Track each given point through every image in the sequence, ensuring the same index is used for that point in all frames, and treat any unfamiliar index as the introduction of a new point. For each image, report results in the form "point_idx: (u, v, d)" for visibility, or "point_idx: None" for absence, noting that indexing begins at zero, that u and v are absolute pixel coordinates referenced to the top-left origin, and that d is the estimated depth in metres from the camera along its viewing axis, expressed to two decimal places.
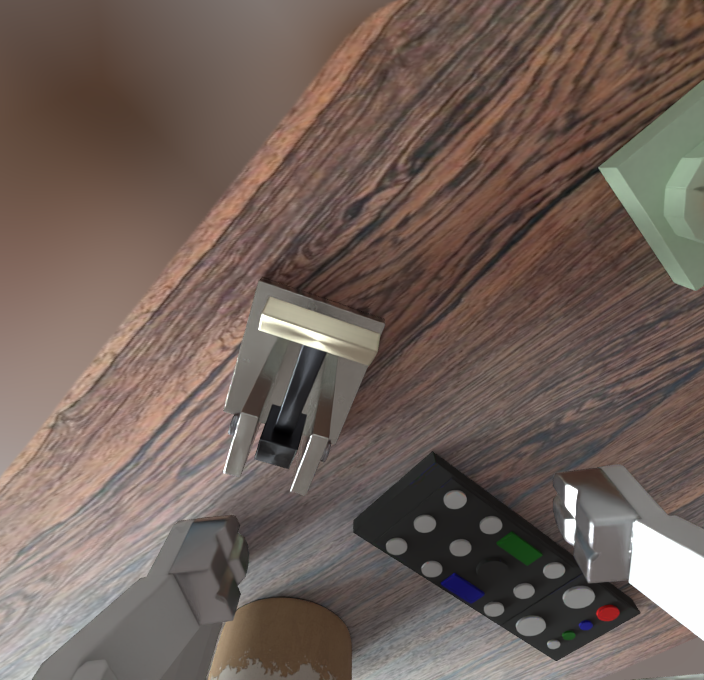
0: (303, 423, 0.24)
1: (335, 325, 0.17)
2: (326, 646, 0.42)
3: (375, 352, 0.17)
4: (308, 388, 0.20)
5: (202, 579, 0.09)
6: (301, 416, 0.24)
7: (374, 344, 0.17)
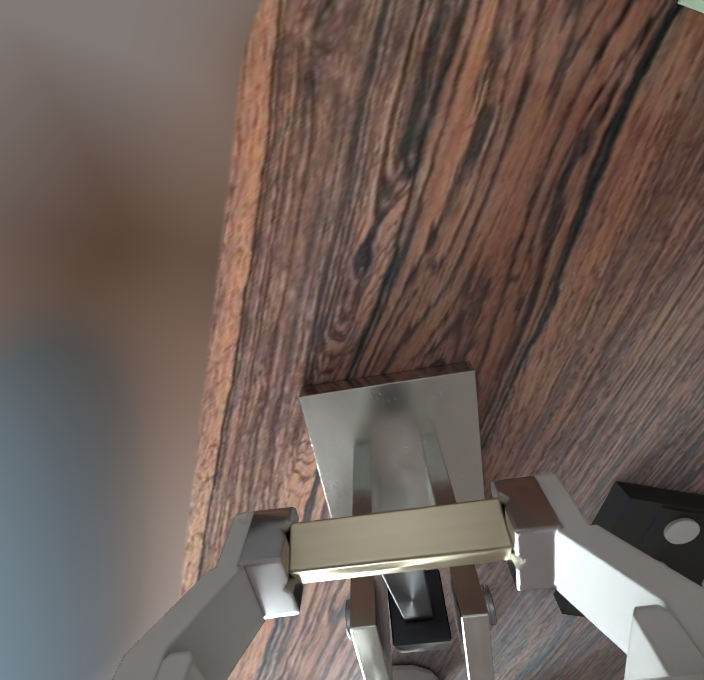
0: (439, 587, 0.16)
1: (415, 526, 0.09)
2: None
3: (510, 548, 0.09)
4: (423, 594, 0.12)
5: (272, 571, 0.09)
6: (432, 576, 0.16)
7: (500, 531, 0.09)
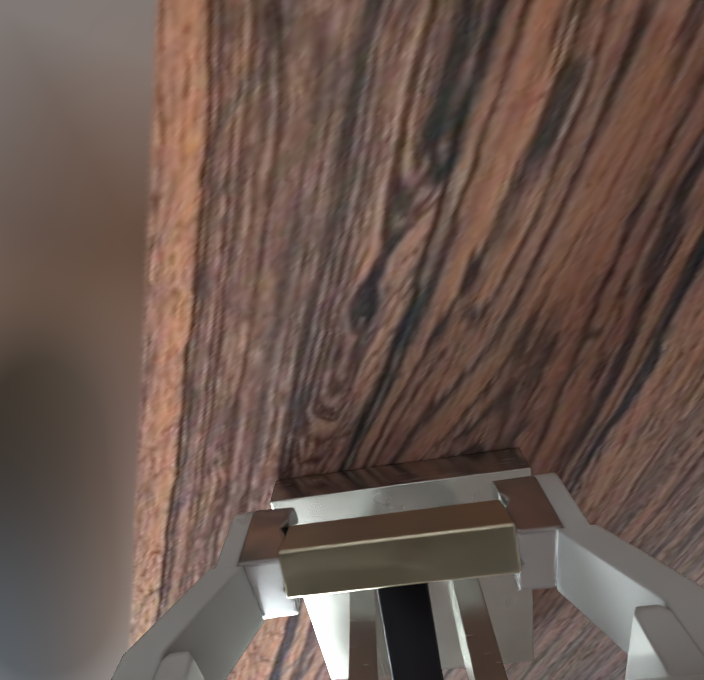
0: None
1: (414, 518, 0.09)
2: None
3: (511, 527, 0.08)
4: None
5: (271, 571, 0.09)
6: None
7: (500, 515, 0.09)
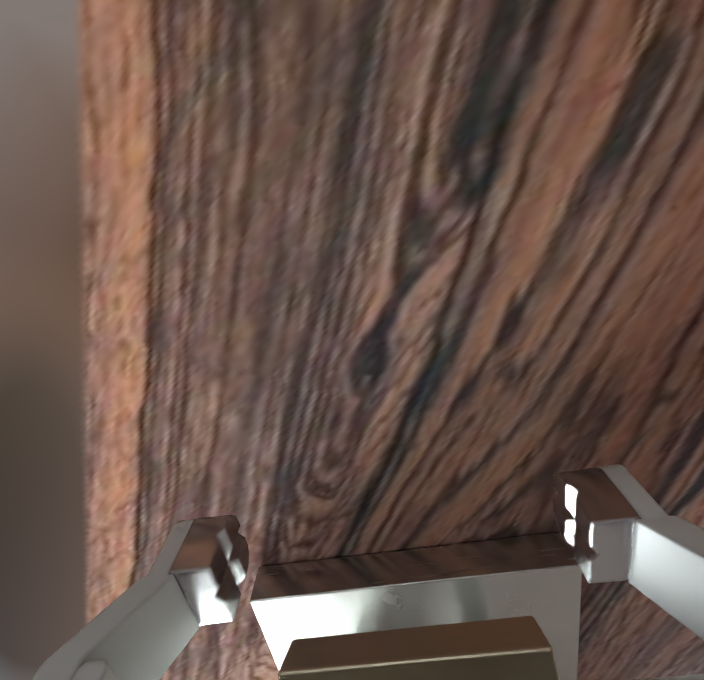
0: None
1: (434, 635, 0.08)
2: None
3: (549, 653, 0.07)
4: None
5: (202, 579, 0.09)
6: None
7: (535, 635, 0.07)
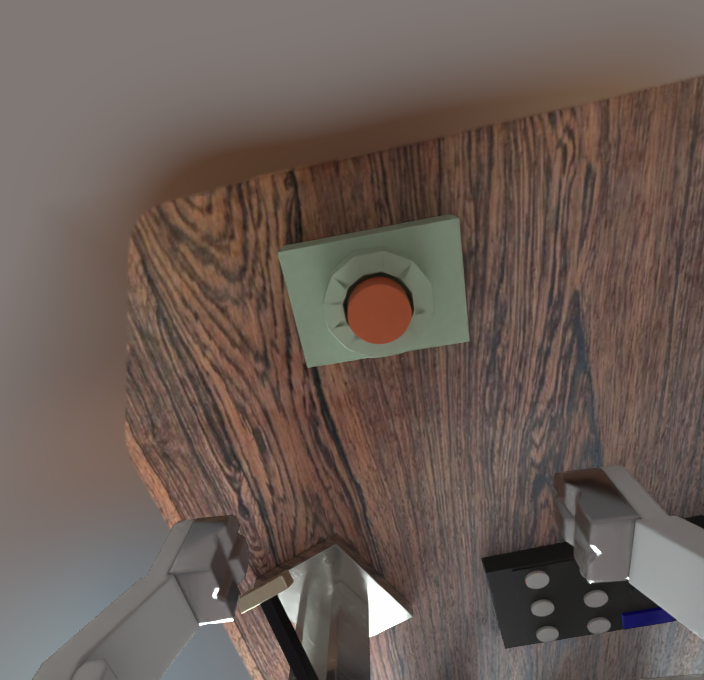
0: None
1: (266, 581, 0.33)
2: None
3: (281, 577, 0.32)
4: (286, 636, 0.31)
5: (202, 579, 0.09)
6: None
7: (281, 574, 0.32)
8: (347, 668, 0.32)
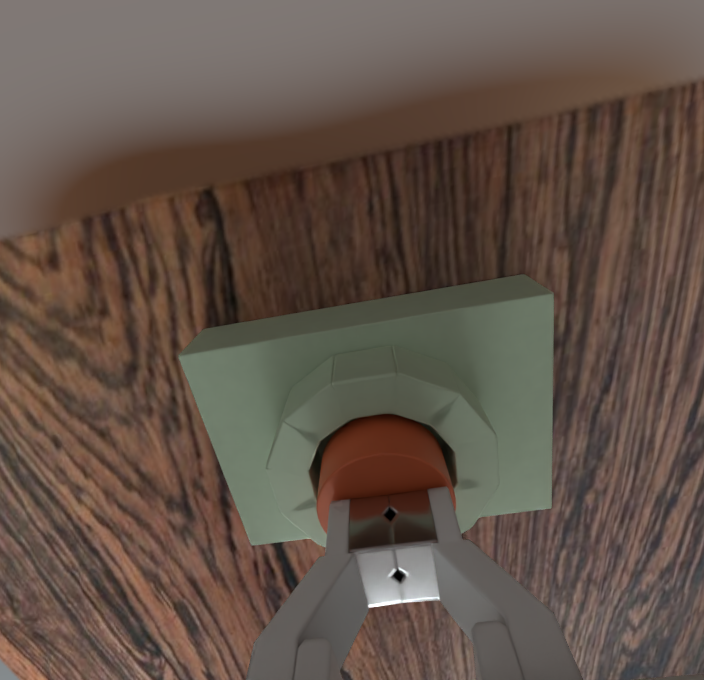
0: None
1: None
2: None
3: None
4: None
5: (382, 558, 0.09)
6: None
7: None
8: None
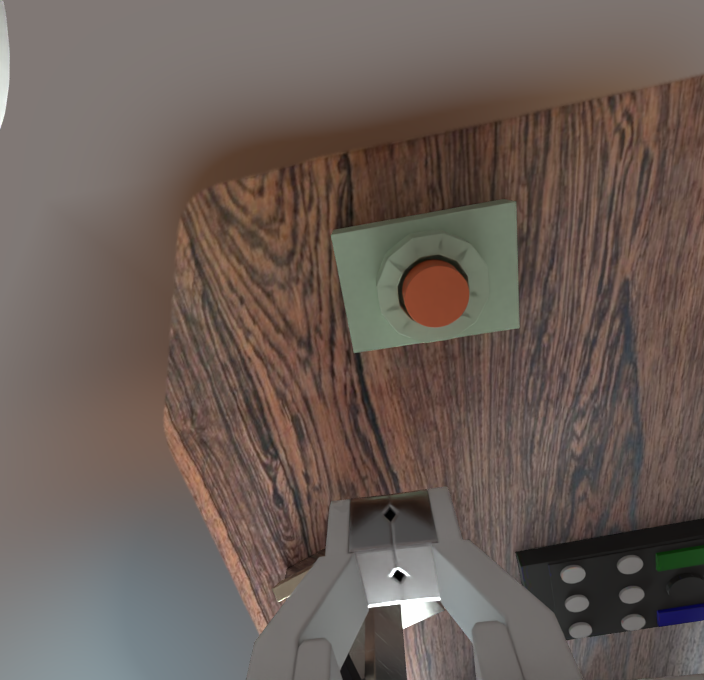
0: None
1: (303, 570, 0.33)
2: None
3: None
4: None
5: (383, 558, 0.09)
6: None
7: None
8: (384, 659, 0.31)
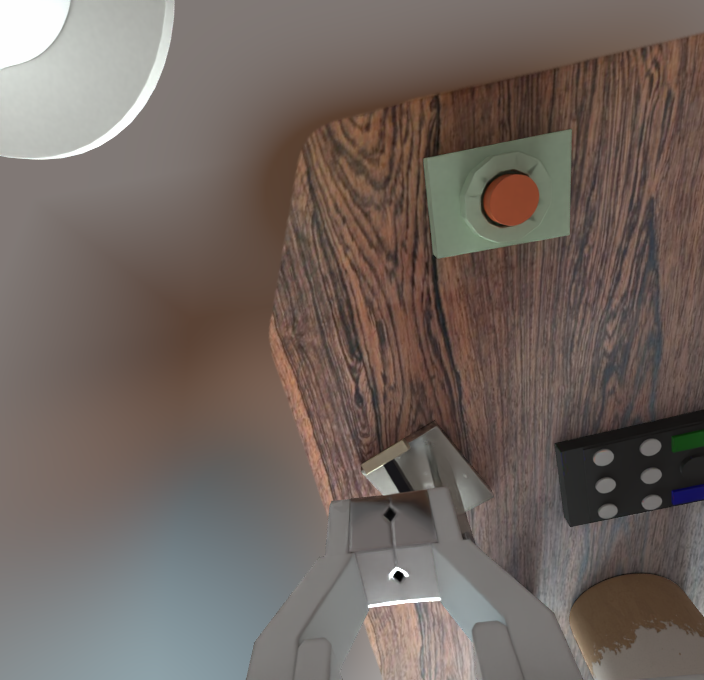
0: None
1: (387, 448, 0.40)
2: (644, 603, 0.49)
3: (402, 441, 0.39)
4: (407, 488, 0.38)
5: (383, 558, 0.09)
6: None
7: (401, 440, 0.39)
8: (456, 516, 0.39)
